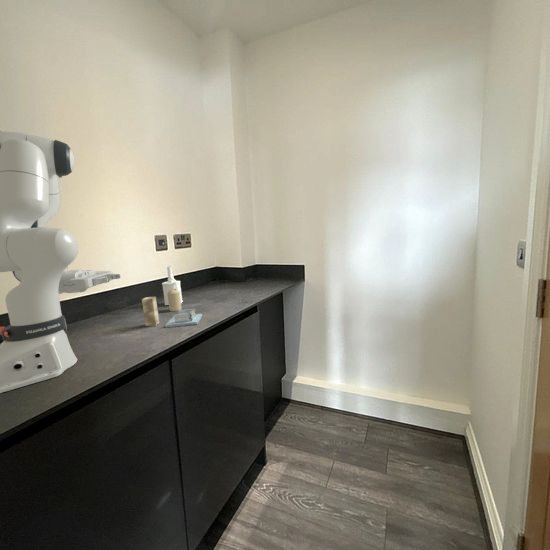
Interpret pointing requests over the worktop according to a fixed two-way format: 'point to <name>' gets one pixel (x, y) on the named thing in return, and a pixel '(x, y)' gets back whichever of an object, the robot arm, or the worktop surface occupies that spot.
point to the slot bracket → (185, 315)
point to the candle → (174, 300)
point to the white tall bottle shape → (171, 285)
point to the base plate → (193, 322)
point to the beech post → (150, 311)
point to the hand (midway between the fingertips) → (114, 278)
